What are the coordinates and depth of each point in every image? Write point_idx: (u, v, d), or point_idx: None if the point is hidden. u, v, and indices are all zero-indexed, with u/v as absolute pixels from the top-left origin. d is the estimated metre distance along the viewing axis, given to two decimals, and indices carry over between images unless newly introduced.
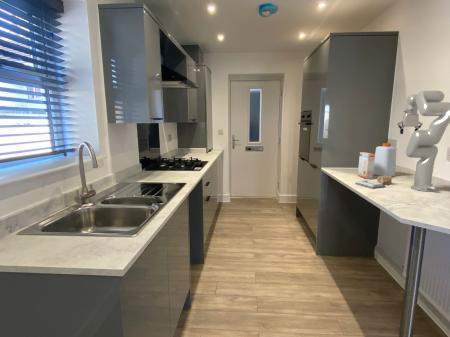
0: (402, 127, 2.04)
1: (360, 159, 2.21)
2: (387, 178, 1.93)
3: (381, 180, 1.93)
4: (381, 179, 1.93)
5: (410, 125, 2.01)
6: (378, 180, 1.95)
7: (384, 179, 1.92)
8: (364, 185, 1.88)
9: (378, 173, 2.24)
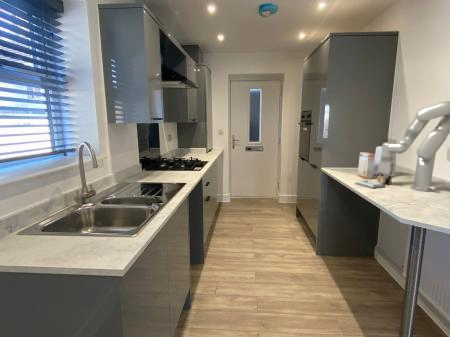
0: None
1: (360, 159, 2.21)
2: None
3: (381, 180, 1.93)
4: (381, 178, 1.93)
5: None
6: (378, 180, 1.95)
7: (384, 179, 1.92)
8: (364, 185, 1.88)
9: None
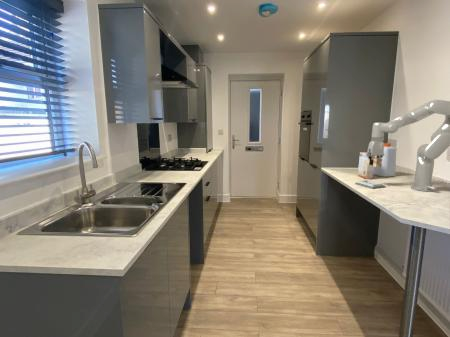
0: None
1: (360, 159, 2.21)
2: None
3: (380, 162, 1.85)
4: (380, 160, 1.84)
5: None
6: (377, 162, 1.84)
7: None
8: (364, 185, 1.88)
9: (378, 173, 2.24)
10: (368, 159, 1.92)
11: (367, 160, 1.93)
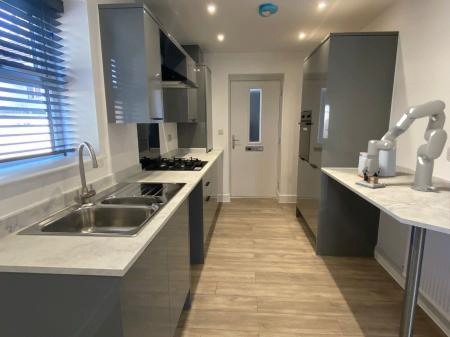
0: None
1: (360, 159, 2.21)
2: None
3: (377, 181, 1.87)
4: (376, 179, 1.86)
5: None
6: (374, 181, 1.86)
7: None
8: (364, 185, 1.88)
9: None
10: None
11: (363, 178, 1.94)
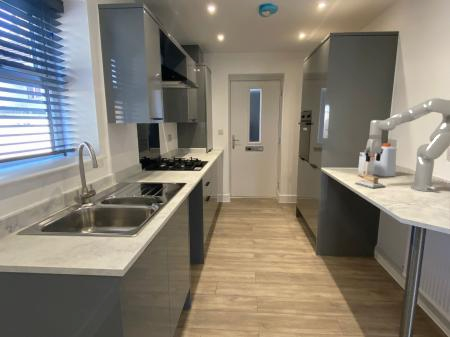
0: (377, 153, 1.90)
1: (360, 159, 2.21)
2: None
3: (377, 181, 1.87)
4: (376, 179, 1.86)
5: None
6: (374, 181, 1.86)
7: None
8: (364, 185, 1.88)
9: (378, 173, 2.24)
10: (364, 177, 1.93)
11: (363, 178, 1.94)
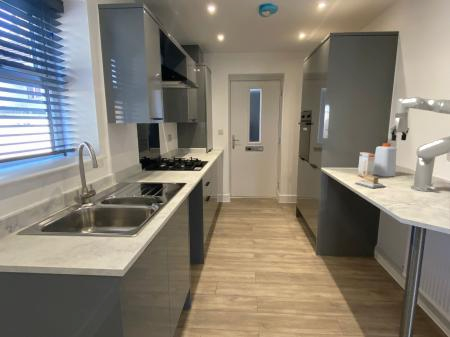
0: None
1: (360, 159, 2.21)
2: None
3: (377, 181, 1.87)
4: (376, 179, 1.86)
5: None
6: (374, 181, 1.86)
7: None
8: (364, 185, 1.88)
9: (378, 173, 2.24)
10: (364, 177, 1.93)
11: (363, 178, 1.94)
